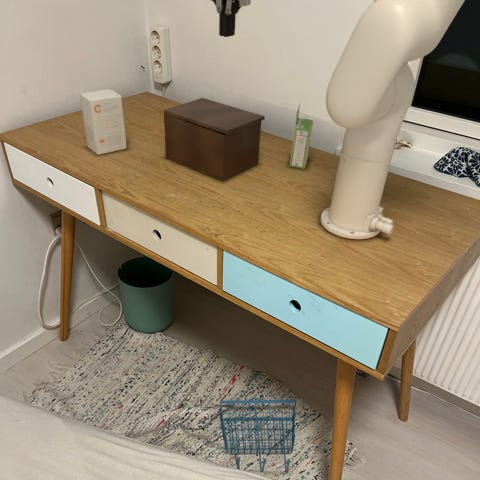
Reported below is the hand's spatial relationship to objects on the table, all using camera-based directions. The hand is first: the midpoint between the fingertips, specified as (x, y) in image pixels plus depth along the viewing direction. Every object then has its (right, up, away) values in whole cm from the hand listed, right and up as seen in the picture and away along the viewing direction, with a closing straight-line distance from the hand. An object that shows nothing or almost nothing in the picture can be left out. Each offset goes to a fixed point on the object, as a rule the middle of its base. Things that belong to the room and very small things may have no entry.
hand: (226, 35), depth 105 cm
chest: (-4, -20, +20) cm, 29 cm away
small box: (-31, -16, +23) cm, 42 cm away
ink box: (+18, -20, +22) cm, 35 cm away
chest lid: (-3, -12, +13) cm, 18 cm away
